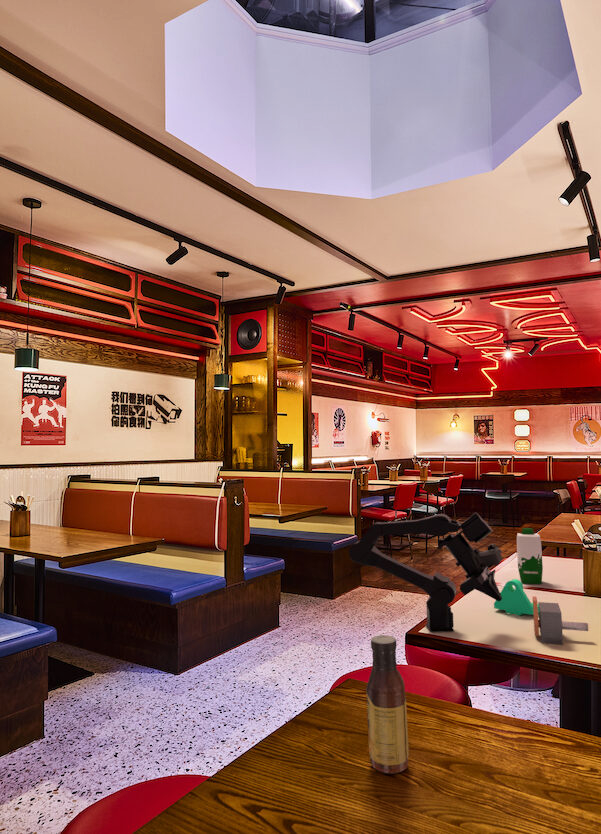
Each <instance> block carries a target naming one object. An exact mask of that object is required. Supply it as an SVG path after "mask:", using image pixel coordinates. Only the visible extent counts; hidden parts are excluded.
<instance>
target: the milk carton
mask: <svg viewBox="0 0 601 834" xmlns="http://www.w3.org/2000/svg"><path fill="white" fill-rule="evenodd" d="M542 548H543V547H542V539H541V536H540V534H539V533H534V528H532V527H531V528H529V527H522V528H521V533H519V532H517V535H516V552H517V553H516V554H517V569H518V574H519V579H520V580H519V581H520V582H521V583H522V585H524V584H528V585H542V584H543V582H542V581H543V571H544V570H543V568H544V566H543V553H542V552H543V551H542Z"/></svg>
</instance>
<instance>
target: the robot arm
mask: <svg viewBox="0 0 601 834" xmlns="http://www.w3.org/2000/svg"><path fill="white" fill-rule="evenodd" d="M458 531H459V532H458ZM492 532H493V529H492V527H490V525H489V524H488V522H486V520H484V519H483V518H482V517H481V515H480V514H478V513H477V512H474V513H472V514H471V516H469V517H468V518H467V519H466V520H464V521H463V522H460V521H457V520H453V519H451V517H449V516H448V515H447V514H444V513H439V514H434V515H431V516H427V517H422V518H420V519H411V520H409V519H408V520H398V521H387V522H381V521H377V522H375V523H373V524H372V525H371V526H370V527H369V529H368V530H367V531H366V532H365V534H364V535H363V536H362V537H361V538H360V539H359V540H357V542H355V543H353V544H352V545H350V547H349V549H348V550H349V551H348V555H349V558H350V560H351V561H352V562H354V563H357V564H360V565H364V566H366V567H367V566H368V567H376V568H377V569H379V570H382V571H383V572H386V573H387V574H390V575H392V576H393V577H397V578H399V579H400V580H403V581H405V582H407V583H409V584H411V585H412V586H415V587H418V588H419V589H421V590H422V591H423V592H424V593H425V594H427V595H428V599H426V602H425V603H426V604H425V605H426V623H425V627H426V628H427V629H428V631H430V632H431V633H447V632H448V633H449V632H451V633H452V632H455V629H454V613H453V612H452V607H451V606H450V605H449V604H451V603H452V602H453V601H454V599H455V597H456V594H457V587H456V584H455V583H454V581H452V580H450V576H446V575H443V574H442V573H440V572H438V571H435V573H434V575H431V574H427V573H424V572H422V571H420V570H418V569H416V568H413V567H411V566H410V565H407V564H404V563H403V562H401V561H400V560H397V559H394V558H392V557H390V556H388V555H386V554H384V553H382V552H381V551H380V550H379V549H378V548H377V547H376V544H377V542H378V541H379V540H380V538H381V537H386V536H400V535H414V534H421V535H427V536H433V537H439V538H438V540H437V541H438V543H437V549H438V550H441V549H442V548H444V547H445V549H447V550H448V551H449V553H450V554H451V555H452V557H453V558H454V559H455V561H456V563H455V565H456V567H461V568H462V570H463V571H464V572H465V575H464V577H465V578H466V579H464V580H463V581H462V582H461V584H460V585H459V591H460V592H461V593H462V595H463V596H466V595H468V594H470V593H472V592H473V591H474V590H476V591H478V592H480V593H481V594H485V595H487V596H488V597H490V598H492V599H493V600H495V601H496V600H497V601H501V600H502V597H501V594H500V593H501V591H500V590H499V587H498V585H497V582H496V579H495V573H496V569H493V570H491V569H490V568H492V567H495V566H499V565H500V564H501V562H502V561H503V556H502V553H503V551H502V549H501V548H500V547H498V546H497V545H496V544H495V543H491V544H489V545H488V546H487V549H485V550H484V551H480V550H479V549H478V548H477V547H475V548H473V546H472V545H471V544H470V543H473V542H474V543H476V544H477V543H479V542H480V541H482V540H483V539H485V538H486V537H487V536H488V535H490V534H491V533H492ZM452 533H456V534H452ZM446 535H447V536H446ZM443 536H445V537H444V538H440V537H443ZM469 542H470V543H469Z"/></svg>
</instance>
